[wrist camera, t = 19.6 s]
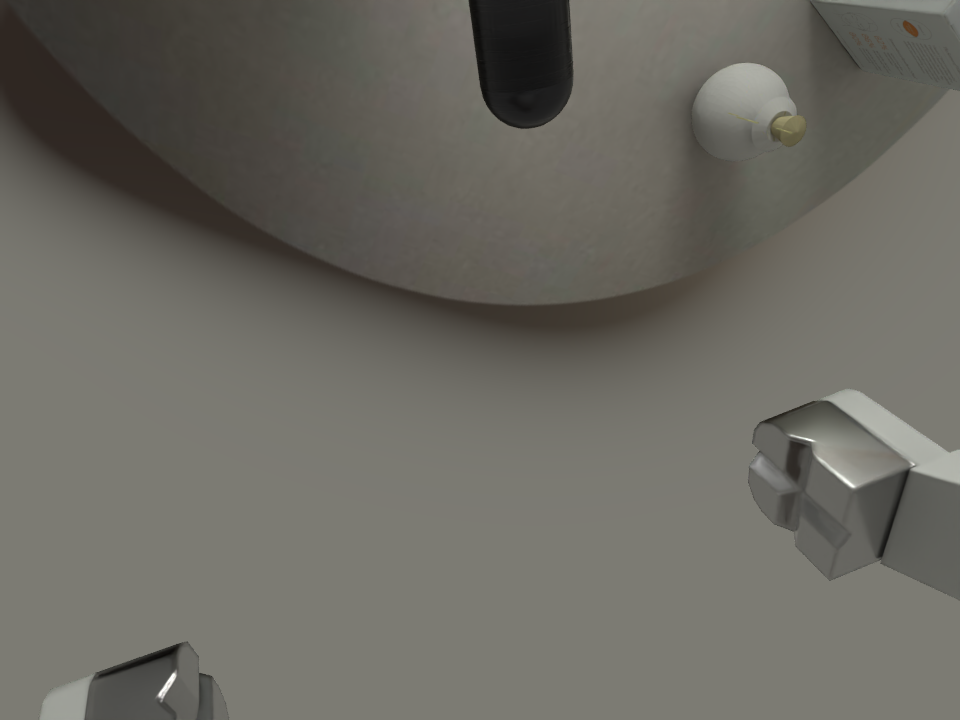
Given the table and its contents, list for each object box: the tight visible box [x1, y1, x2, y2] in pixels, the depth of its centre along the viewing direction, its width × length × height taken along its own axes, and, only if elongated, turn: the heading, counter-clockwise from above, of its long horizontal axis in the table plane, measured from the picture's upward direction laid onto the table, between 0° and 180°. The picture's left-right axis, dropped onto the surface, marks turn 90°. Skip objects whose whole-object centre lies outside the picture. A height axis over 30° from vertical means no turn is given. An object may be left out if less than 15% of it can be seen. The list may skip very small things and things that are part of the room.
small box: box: [810, 0, 960, 91], centre depth 42 cm, size 8×6×10 cm
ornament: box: [691, 63, 806, 161], centre depth 42 cm, size 6×7×10 cm
